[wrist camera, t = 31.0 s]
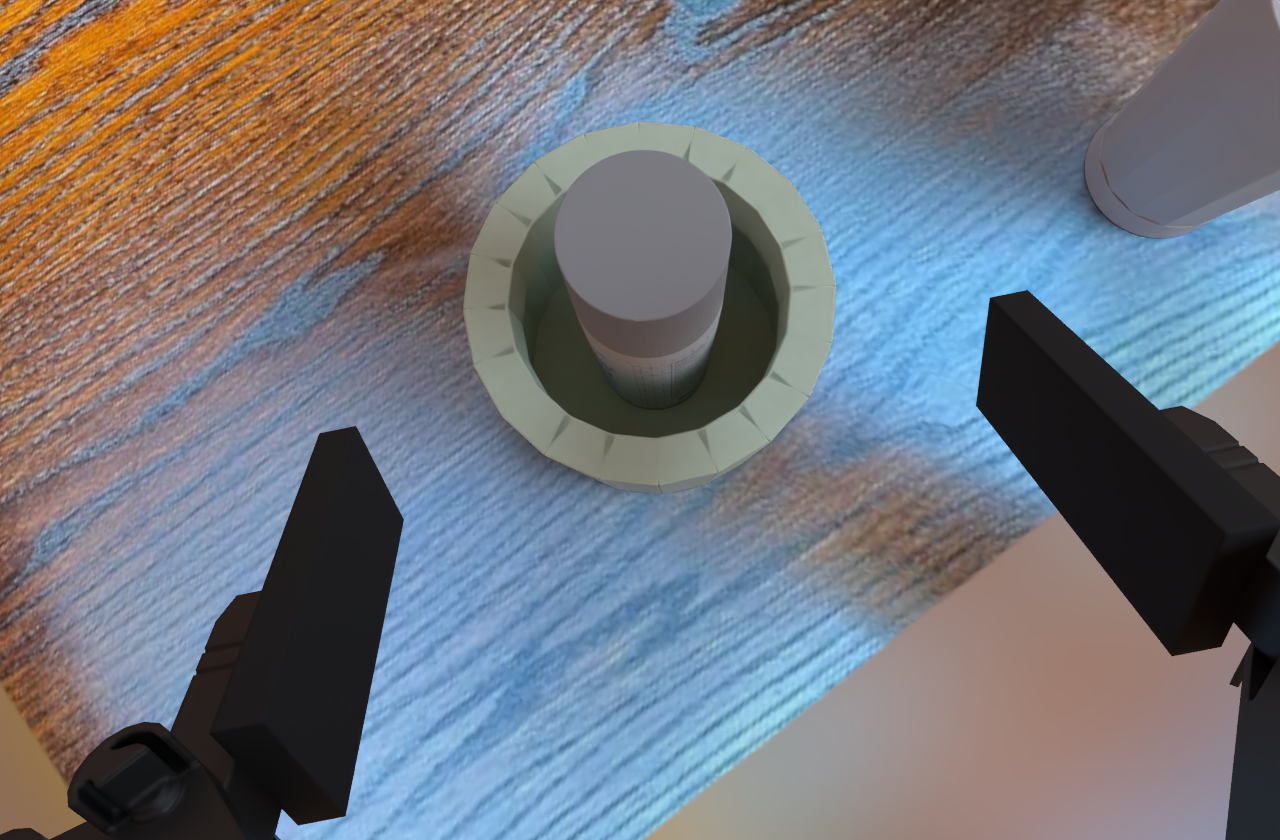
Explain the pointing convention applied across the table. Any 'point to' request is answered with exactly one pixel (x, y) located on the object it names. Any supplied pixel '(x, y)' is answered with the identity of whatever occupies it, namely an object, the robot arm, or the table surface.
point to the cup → (1196, 128)
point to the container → (646, 271)
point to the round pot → (743, 345)
